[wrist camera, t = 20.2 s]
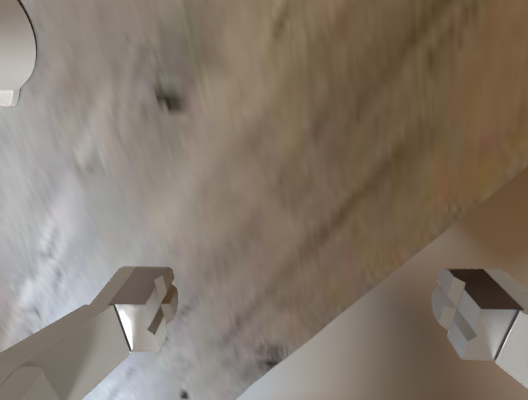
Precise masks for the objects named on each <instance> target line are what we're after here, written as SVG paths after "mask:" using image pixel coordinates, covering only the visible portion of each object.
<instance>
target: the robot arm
mask: <svg viewBox="0 0 528 400" xmlns="http://www.w3.org/2000/svg"><path fill="white" fill-rule="evenodd" d="M35 60H36V45H35V39H34V34H33V31H32V28H31V25H30V23H29V20H28V18H27V16H26V14H25V12H24V10H23V9H22V7H21V5H20V4H19V2H18V1H17V0H0V106H15V105H16V104H17V102H18V98H19V93H20V88H21V87H22V85H23V84H24V83H25V82H26V81H27V79H28V78H29V77H30V75H31V73H32V71H33V69H34V65H35ZM173 279H174V274H173V271H172V269H171V268H169V267H141V266H139V267H132V266H124V267H121V268H119V269H118V271H117V272H116V273H115V274H114V276H113V277H112V278H111V279H110V281H109V282H108V283H107V284H106V285H105V287H104V288H103V289H102V290H101V292H100V293H99V294H98V295H97V297H96V298H95V299H94V300H93V301H92V303H91V304H90V305H83V306H82V307H80V308H78V309H76V310H75V311H73V312H71V313H69V314H68V315H66V316H64V317H62V318H61V319H59V320H57V321H55V322H54V323H52V324H50V325H48V326H47V327H45V328H43V329H41V330H40V331H38V332H36V333H34V334H33V335H31V336H29V337H27V338H26V339H24V340H22V341H21V342H19V343H17V344H15V345H14V346H12V347H10V348H8V349H7V350H5V351H3V352H1V353H0V400H82V399H83V398H84V397H85V396H86V395H87V394H88V393H89V392H90V391H91V390H93V389H94V388H95V387H96V386H97V385H98V384H99V383H100V382H101V381H102V380H103V379H104V378H105V377H106V376H107V375H108V374H110V373H111V372H112V371H113V370H114V369H115V368H116V367H117V366H118V365H119V364H120V363H121V362H122V361H123V360H124V359H125V358H127V357H128V356H129V355H130V354H131V353H130V352H160V349H161V347H162V345H163V342H164V340H165V338H166V335H167V333H168V329H167V324H168V323H169V322H171V321H172V320H173V319H174V317H175V314H176V312H177V306H178V292H177V288H176V287H175V286H174V285H172V284H171V283H172V281H173ZM437 281H438V283H439V284H440V286H438V287H437V288H436V289H435V290H434V291H433V293H432V298H431V305H432V310H433V313H434V316H435V318H436V320H437V321H438V323H439V324H440V325H442V326H443V327H445V328H446V329H447V330H449V332H448V336H447V337H448V339H449V341H450V342H451V344H452V345H453V347H454V348H455V350H456V352H457V353H458V355H459V357H460V358H461V359H468V360H489V361H495V363H496V364H497V365H499V366H500V367H501V368H502V369H504V370H505V371H506V372H507V373H509V374H510V375H511V376H512V377H514V378H515V379H516V380H517V381H519V382H520V383H521V384H522V385H524V386H525V387H526V388H527V389H528V292H527V291H526V290H524V289H523V288H522V287H521V286H520V285H519V284H518V283H517V282H516V281H515V280H513V279H512V278H511V277H510V276H509V275H508V274H507V273H506V272H505V271H503V270H501V269H499V268H478V269H441V270H440V271H439V273H438V275H437Z"/></svg>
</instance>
